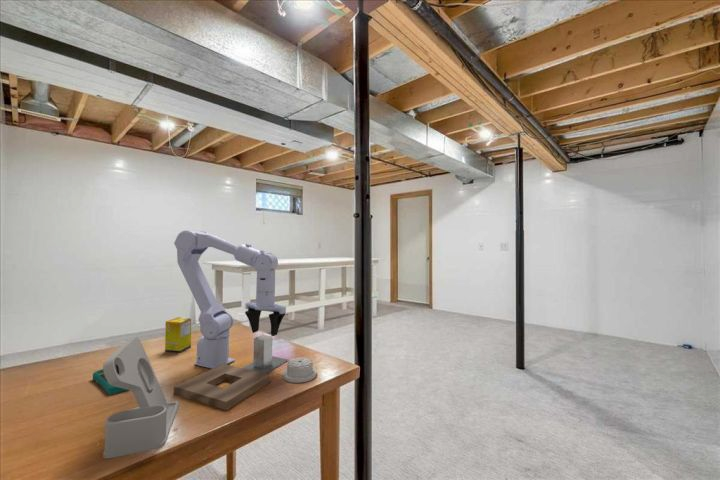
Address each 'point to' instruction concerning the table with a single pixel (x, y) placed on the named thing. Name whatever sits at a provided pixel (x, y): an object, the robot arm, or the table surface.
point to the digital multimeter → (106, 383)
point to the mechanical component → (299, 370)
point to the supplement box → (178, 335)
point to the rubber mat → (275, 363)
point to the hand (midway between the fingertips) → (264, 333)
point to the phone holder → (154, 412)
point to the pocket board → (219, 397)
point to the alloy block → (262, 351)
